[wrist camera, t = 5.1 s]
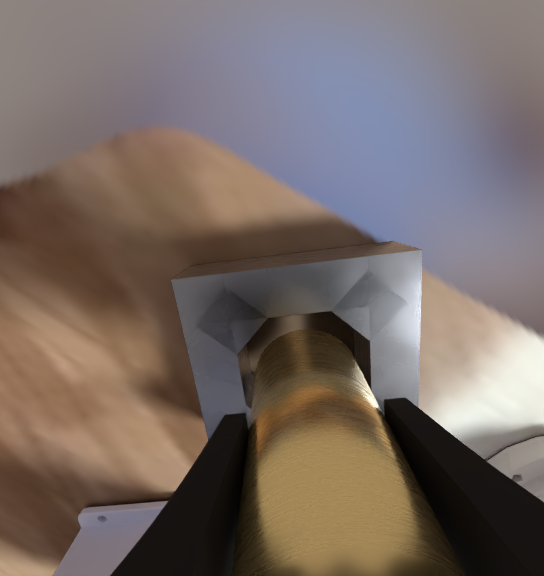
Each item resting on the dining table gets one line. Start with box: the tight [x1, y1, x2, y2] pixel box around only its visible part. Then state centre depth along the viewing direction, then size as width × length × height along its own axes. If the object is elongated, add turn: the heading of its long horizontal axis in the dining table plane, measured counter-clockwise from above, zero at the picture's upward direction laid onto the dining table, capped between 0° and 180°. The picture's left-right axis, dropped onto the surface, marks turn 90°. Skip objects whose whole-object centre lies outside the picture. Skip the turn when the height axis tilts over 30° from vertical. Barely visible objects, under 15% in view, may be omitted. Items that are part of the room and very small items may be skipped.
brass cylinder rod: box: [231, 330, 466, 576], centre depth 8 cm, size 4×4×7 cm
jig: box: [171, 241, 422, 441], centre depth 11 cm, size 9×9×4 cm
